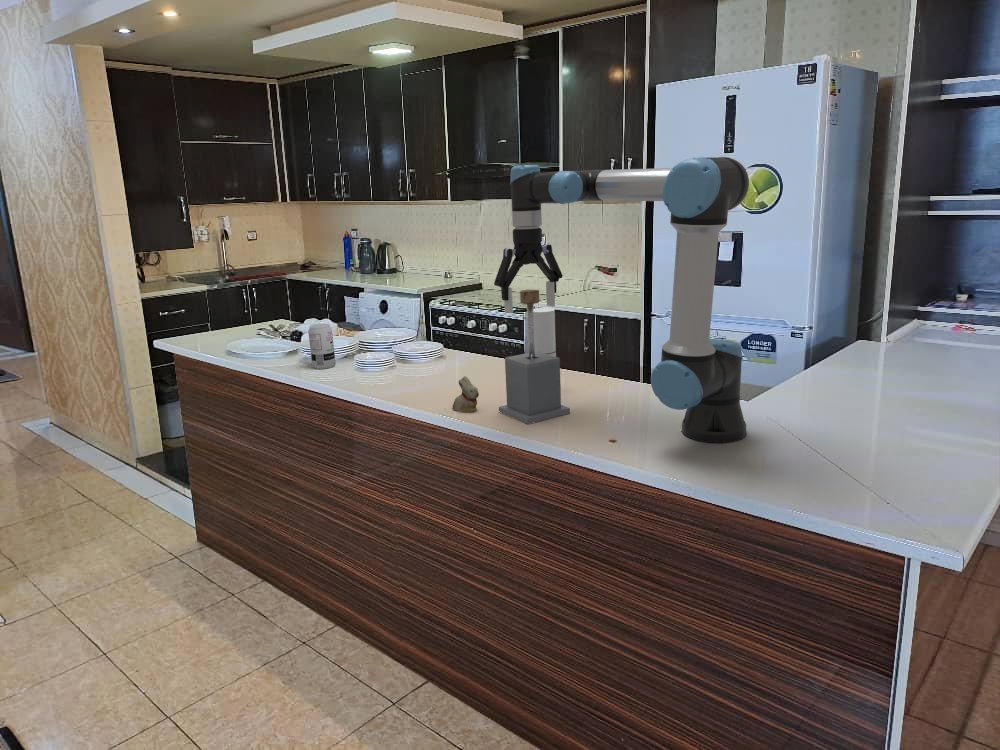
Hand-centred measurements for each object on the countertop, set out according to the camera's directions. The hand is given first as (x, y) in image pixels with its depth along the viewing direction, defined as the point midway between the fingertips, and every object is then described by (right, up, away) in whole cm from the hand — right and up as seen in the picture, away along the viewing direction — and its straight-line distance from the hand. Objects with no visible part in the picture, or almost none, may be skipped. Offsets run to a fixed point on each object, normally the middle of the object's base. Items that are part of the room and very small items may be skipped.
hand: (530, 309), depth 194 cm
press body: (+1, -28, +7) cm, 29 cm away
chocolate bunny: (-18, -27, +13) cm, 35 cm away
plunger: (+1, -15, +4) cm, 15 cm away
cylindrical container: (+6, -23, +26) cm, 35 cm away
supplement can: (-71, -15, +71) cm, 102 cm away
